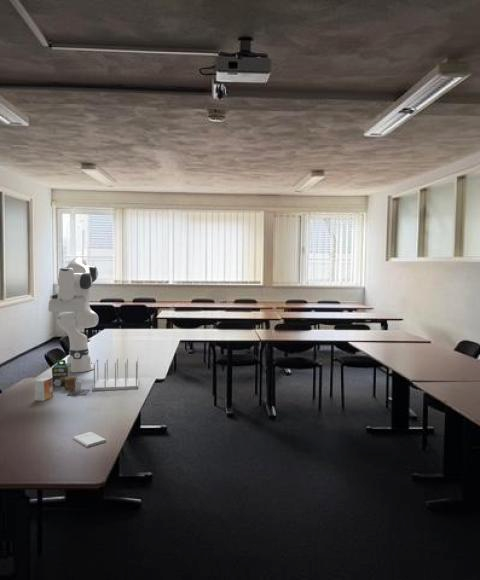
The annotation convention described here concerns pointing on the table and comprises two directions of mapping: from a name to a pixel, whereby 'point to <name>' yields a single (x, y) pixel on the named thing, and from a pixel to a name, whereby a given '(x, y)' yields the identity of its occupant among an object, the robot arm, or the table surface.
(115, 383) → the file sorter
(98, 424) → the table surface
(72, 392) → the grey square peg stand
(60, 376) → the chalk box
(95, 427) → the table surface
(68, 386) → the cardboard cube
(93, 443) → the external hard drive
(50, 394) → the small box
